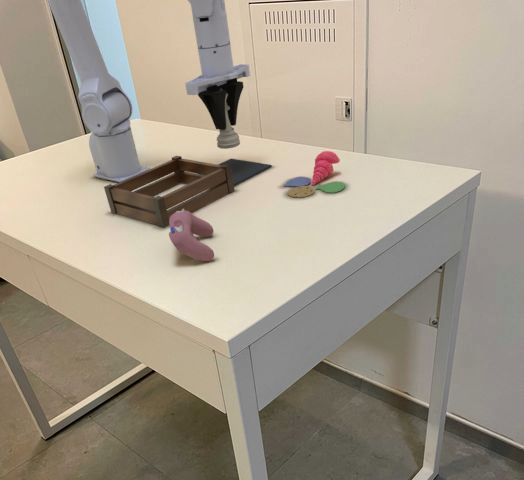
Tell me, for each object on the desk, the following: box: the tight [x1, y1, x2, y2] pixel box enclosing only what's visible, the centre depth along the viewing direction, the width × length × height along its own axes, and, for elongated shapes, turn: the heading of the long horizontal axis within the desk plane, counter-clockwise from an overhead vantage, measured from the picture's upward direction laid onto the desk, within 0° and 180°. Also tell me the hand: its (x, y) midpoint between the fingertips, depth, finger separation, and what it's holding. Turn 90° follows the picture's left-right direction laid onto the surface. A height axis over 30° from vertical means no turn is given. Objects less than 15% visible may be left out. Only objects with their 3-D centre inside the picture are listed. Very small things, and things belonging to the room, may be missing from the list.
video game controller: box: [168, 209, 215, 262], centre depth 80 cm, size 10×5×7 cm, turn 5°
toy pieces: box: [283, 150, 346, 198], centre depth 97 cm, size 12×11×4 cm
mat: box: [200, 158, 273, 187], centre depth 108 cm, size 11×11×1 cm
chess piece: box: [216, 89, 241, 150], centre depth 102 cm, size 4×4×10 cm
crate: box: [103, 155, 236, 228], centre depth 97 cm, size 14×17×5 cm
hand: (225, 127), depth 103 cm, fingers closed on chess piece, 2 cm apart
